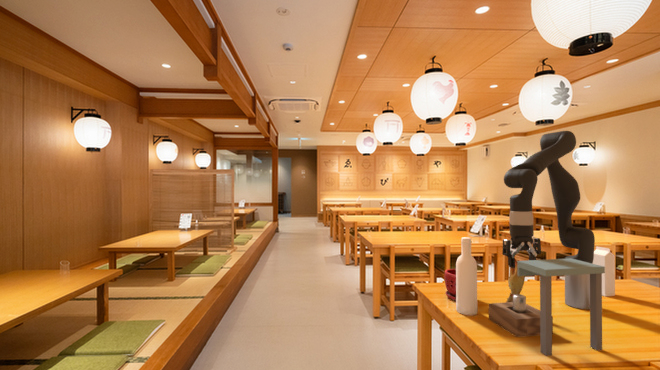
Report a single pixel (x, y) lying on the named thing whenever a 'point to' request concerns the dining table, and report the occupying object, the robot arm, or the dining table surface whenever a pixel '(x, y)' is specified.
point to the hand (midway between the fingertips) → (522, 266)
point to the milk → (606, 269)
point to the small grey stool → (546, 271)
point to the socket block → (516, 319)
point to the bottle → (466, 280)
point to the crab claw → (515, 283)
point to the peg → (519, 303)
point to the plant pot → (450, 283)
